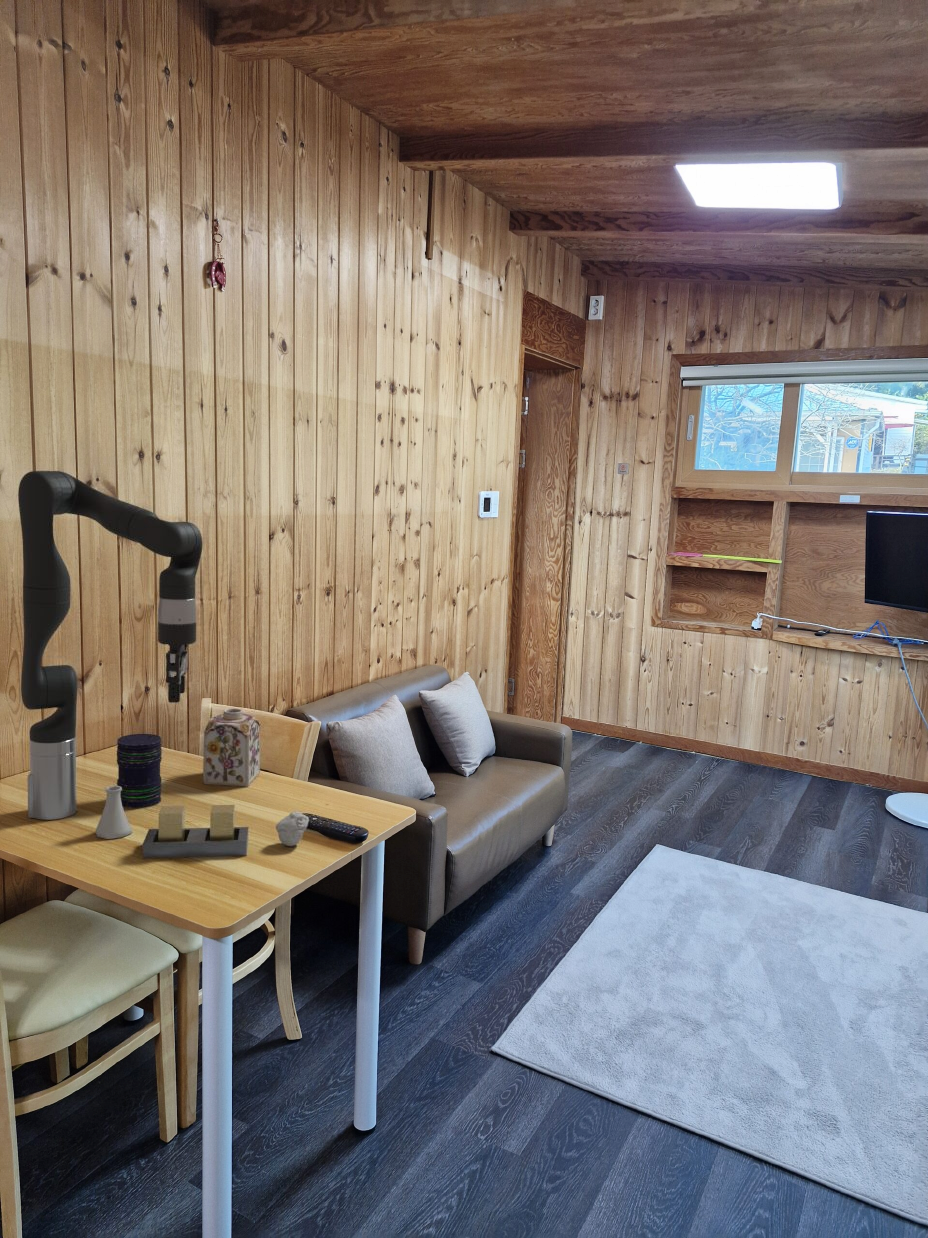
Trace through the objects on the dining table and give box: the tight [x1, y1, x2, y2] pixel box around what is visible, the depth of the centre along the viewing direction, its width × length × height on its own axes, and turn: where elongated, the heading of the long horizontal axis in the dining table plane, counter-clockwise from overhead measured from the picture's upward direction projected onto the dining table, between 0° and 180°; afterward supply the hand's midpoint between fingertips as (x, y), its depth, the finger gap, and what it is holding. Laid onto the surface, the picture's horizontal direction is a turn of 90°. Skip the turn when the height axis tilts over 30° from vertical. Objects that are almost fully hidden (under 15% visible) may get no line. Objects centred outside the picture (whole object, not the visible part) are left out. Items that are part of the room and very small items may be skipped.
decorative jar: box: [202, 707, 261, 788], centre depth 228 cm, size 12×12×18 cm
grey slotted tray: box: [142, 826, 249, 859], centre depth 183 cm, size 20×8×3 cm, turn 101°
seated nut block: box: [158, 805, 186, 842], centre depth 182 cm, size 4×4×8 cm
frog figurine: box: [275, 811, 310, 847], centre depth 188 cm, size 6×7×7 cm
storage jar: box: [116, 733, 163, 809], centre depth 209 cm, size 10×10×15 cm
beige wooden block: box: [209, 804, 236, 841], centre depth 184 cm, size 4×4×8 cm
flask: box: [94, 785, 133, 840], centre depth 189 cm, size 7×7×10 cm
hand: (176, 697), depth 185 cm, fingers open, 8 cm apart
